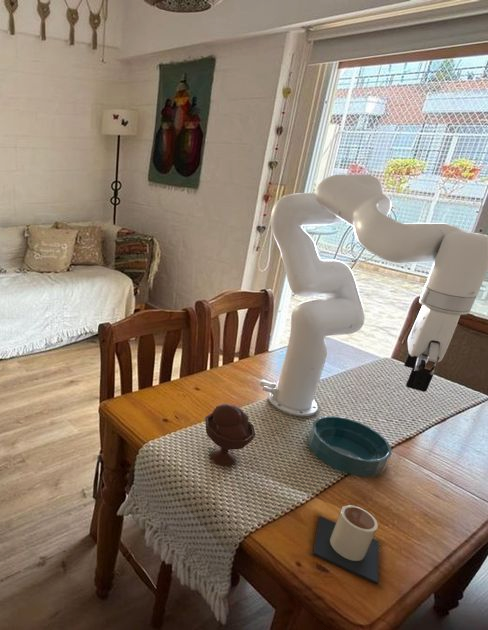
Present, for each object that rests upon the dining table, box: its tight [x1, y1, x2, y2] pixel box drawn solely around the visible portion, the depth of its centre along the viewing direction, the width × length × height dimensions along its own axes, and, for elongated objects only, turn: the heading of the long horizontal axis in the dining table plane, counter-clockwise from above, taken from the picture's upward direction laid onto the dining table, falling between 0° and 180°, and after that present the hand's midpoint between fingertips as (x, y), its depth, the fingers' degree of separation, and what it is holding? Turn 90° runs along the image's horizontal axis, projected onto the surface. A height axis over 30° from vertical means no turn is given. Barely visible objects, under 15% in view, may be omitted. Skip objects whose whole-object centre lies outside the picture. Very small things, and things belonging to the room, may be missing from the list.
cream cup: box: [330, 504, 379, 561], centre depth 80 cm, size 6×6×8 cm
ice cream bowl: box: [204, 403, 256, 467], centre depth 100 cm, size 11×11×15 cm
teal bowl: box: [307, 415, 392, 478], centre depth 105 cm, size 16×16×5 cm
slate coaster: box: [312, 515, 380, 585], centre depth 82 cm, size 10×10×1 cm
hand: (414, 377), depth 88 cm, fingers open, 9 cm apart
